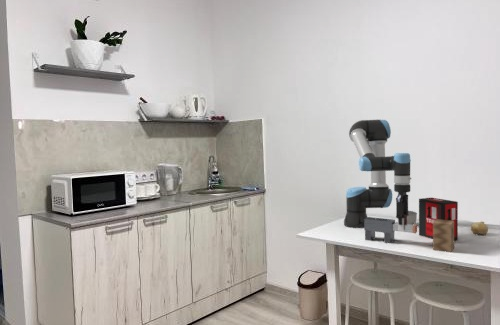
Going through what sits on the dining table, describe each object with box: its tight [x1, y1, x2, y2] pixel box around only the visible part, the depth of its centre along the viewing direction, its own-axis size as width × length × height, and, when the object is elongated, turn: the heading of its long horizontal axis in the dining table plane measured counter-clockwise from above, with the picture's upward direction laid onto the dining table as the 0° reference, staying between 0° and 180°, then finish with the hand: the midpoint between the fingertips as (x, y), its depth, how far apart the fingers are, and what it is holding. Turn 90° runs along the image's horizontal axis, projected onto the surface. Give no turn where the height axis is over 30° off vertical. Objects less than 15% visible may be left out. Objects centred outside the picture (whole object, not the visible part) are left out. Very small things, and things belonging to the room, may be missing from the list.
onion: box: [470, 221, 489, 236], centre depth 203 cm, size 8×8×7 cm
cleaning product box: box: [418, 197, 459, 242], centre depth 198 cm, size 16×9×20 cm, turn 21°
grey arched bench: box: [363, 216, 396, 244], centre depth 197 cm, size 14×7×11 cm, turn 53°
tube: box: [392, 214, 418, 234], centre depth 192 cm, size 21×5×8 cm, turn 53°
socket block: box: [432, 219, 455, 253], centre depth 178 cm, size 8×9×13 cm
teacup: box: [407, 210, 418, 225], centre depth 229 cm, size 14×11×8 cm
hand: (402, 229), depth 190 cm, fingers closed on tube, 5 cm apart
